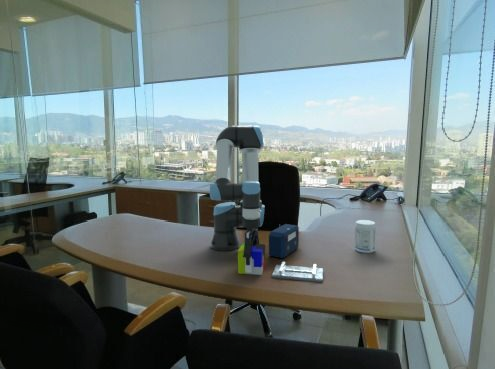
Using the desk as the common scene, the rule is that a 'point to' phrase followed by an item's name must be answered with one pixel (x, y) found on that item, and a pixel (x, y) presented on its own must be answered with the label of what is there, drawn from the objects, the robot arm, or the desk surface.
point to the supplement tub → (365, 236)
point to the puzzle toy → (257, 259)
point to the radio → (283, 240)
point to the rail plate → (298, 273)
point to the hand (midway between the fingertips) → (251, 266)
